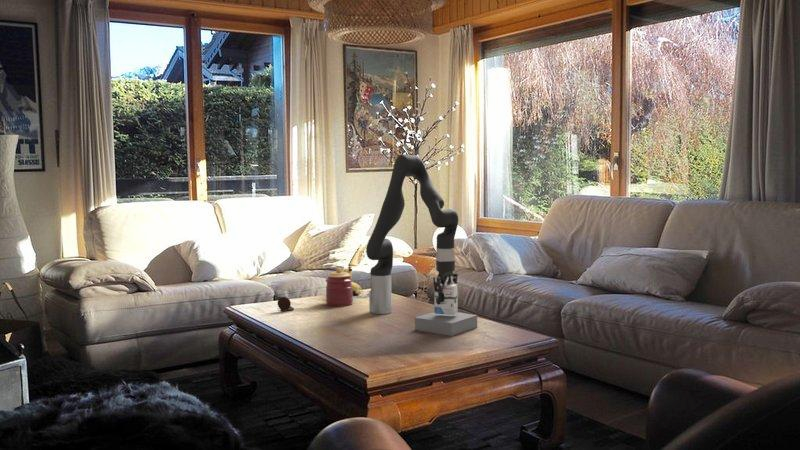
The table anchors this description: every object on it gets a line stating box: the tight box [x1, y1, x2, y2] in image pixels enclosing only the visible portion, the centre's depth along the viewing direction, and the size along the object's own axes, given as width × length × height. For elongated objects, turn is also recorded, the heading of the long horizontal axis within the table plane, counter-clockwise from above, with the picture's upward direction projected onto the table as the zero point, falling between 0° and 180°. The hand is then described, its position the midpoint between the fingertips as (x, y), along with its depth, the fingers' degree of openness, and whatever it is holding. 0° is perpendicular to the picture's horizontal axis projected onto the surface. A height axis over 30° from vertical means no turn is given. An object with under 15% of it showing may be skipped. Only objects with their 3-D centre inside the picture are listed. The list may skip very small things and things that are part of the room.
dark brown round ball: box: [277, 296, 295, 312], centre depth 322 cm, size 8×8×7 cm
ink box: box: [433, 283, 459, 315], centre depth 281 cm, size 8×5×12 cm, turn 68°
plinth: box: [414, 311, 478, 337], centre depth 281 cm, size 18×18×5 cm
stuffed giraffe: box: [342, 265, 369, 299], centre depth 357 cm, size 16×18×16 cm
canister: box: [325, 267, 354, 307], centre depth 335 cm, size 13×13×18 cm
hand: (445, 300), depth 281 cm, fingers closed on ink box, 5 cm apart
